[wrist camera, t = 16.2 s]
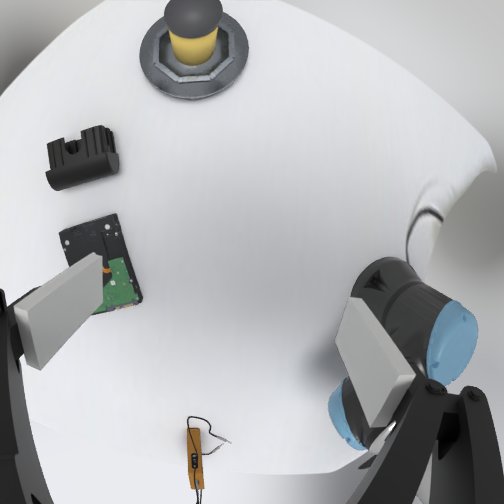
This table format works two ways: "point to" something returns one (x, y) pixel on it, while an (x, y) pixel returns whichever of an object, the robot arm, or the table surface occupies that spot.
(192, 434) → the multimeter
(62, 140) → the end cap
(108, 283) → the disk drive
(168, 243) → the table surface
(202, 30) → the capped yellow cylinder
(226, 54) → the grey round dish
